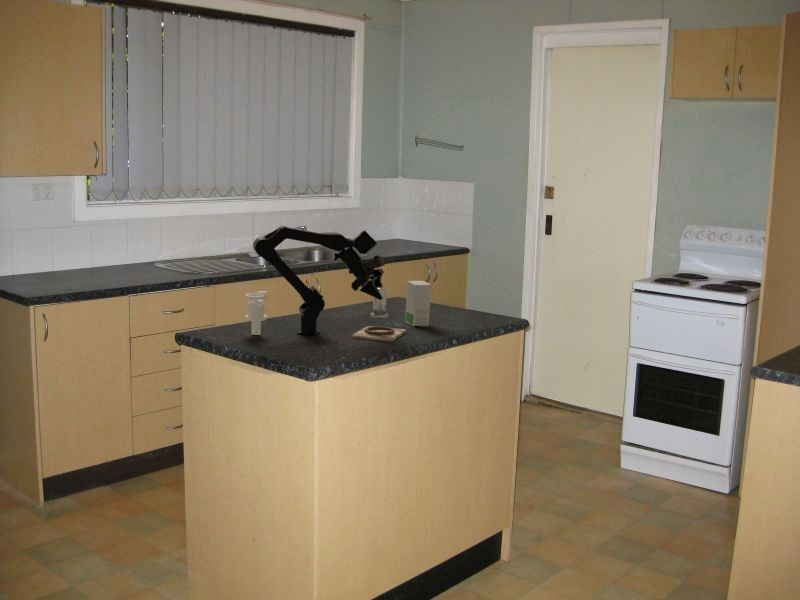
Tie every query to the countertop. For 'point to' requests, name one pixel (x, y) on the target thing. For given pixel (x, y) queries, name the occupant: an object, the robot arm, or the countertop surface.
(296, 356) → the countertop surface
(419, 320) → the skincare box
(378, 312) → the aluminium hub pin
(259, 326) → the grey stepped cylinder
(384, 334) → the maple board
